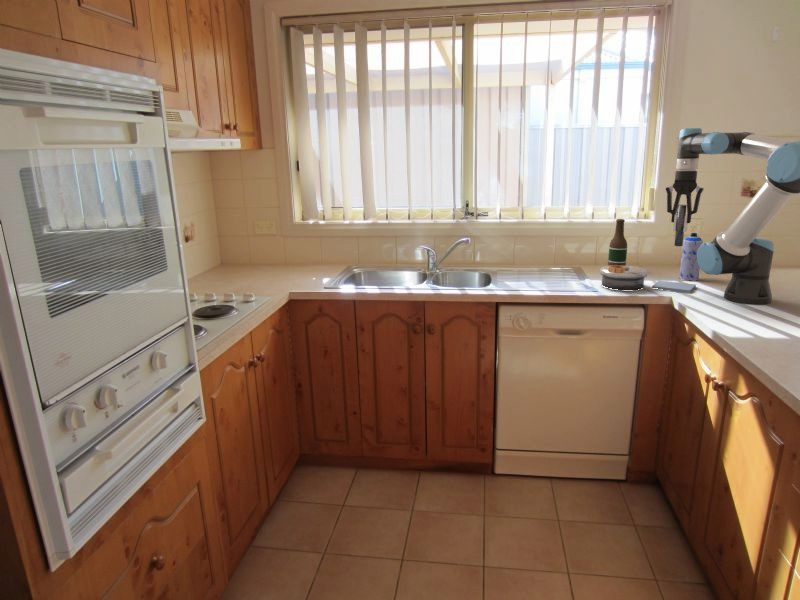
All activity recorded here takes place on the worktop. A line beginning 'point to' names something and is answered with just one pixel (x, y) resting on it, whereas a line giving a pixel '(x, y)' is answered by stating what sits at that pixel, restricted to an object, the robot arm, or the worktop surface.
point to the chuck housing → (622, 283)
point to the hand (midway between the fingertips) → (679, 231)
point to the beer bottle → (618, 246)
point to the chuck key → (680, 225)
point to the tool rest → (674, 286)
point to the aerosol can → (690, 258)
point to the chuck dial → (623, 272)
